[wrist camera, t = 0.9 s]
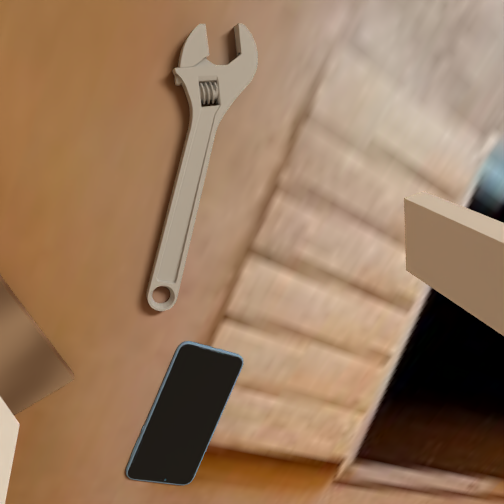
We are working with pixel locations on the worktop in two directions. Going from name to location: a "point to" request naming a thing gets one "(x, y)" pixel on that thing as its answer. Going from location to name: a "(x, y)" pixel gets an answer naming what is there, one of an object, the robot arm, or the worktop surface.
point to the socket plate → (26, 356)
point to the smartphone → (184, 414)
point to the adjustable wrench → (197, 146)
